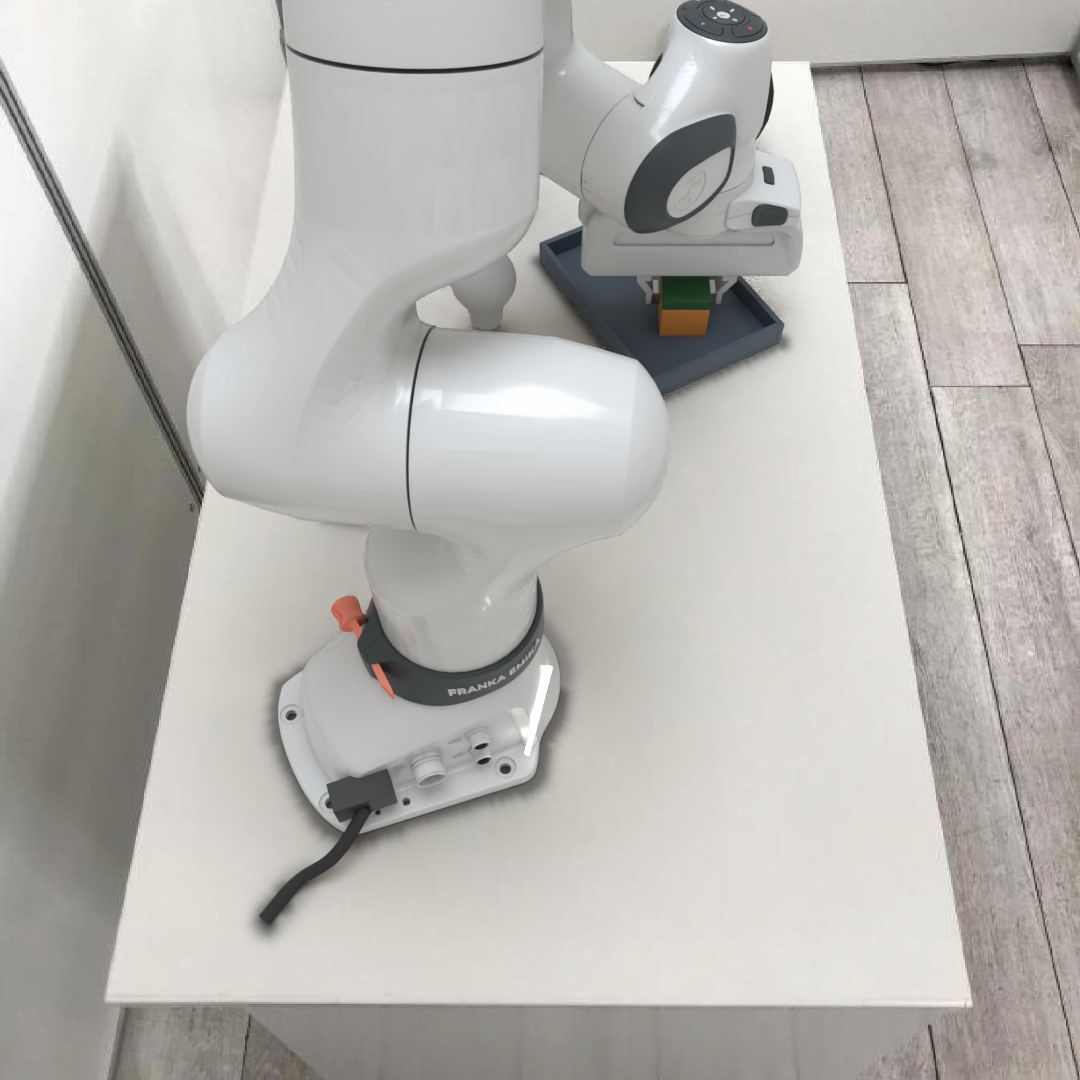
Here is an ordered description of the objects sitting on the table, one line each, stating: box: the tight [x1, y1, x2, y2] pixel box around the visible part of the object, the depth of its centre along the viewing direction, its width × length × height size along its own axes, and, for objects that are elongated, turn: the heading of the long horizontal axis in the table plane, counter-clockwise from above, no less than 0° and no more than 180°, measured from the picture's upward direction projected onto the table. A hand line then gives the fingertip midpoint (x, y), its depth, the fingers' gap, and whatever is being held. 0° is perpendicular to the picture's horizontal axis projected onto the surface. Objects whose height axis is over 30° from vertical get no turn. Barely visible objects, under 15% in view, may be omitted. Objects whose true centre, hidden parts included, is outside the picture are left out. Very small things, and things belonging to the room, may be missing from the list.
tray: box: [538, 224, 785, 396], centre depth 106 cm, size 15×21×3 cm
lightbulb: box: [450, 254, 517, 332], centre depth 100 cm, size 6×6×11 cm
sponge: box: [657, 276, 711, 336], centre depth 104 cm, size 7×4×5 cm, turn 179°
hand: (682, 299), depth 104 cm, fingers closed on sponge, 4 cm apart
